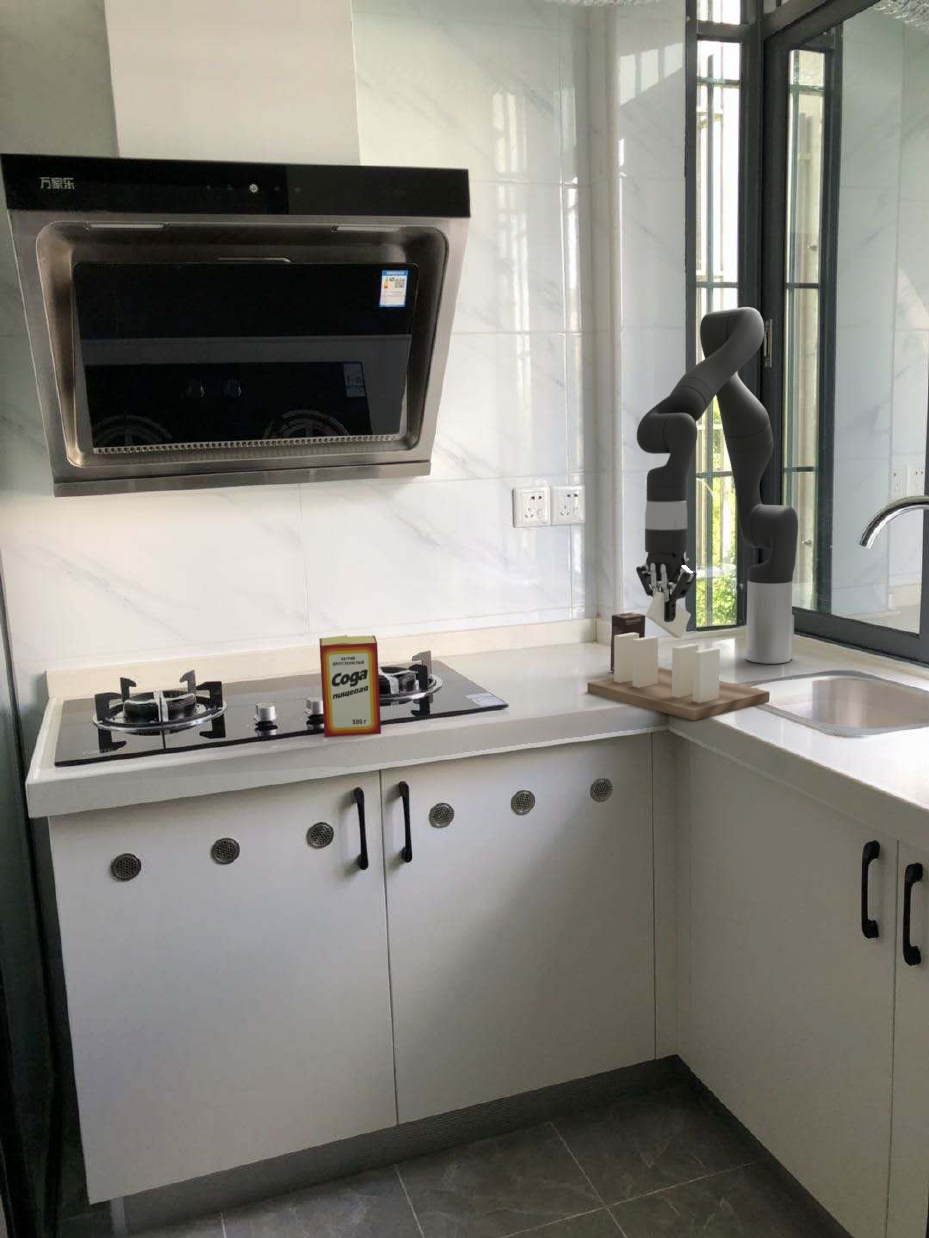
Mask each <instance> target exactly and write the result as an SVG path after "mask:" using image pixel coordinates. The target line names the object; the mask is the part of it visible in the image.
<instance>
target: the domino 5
mask: <svg viewBox="0 0 929 1238" xmlns="http://www.w3.org/2000/svg"><path fill="white" fill-rule="evenodd" d="M720 664H721V649H720V648H717V647H709V648H705V649H700V650H699V649H698V651H694V658H693V701H694V702H698V703H702V702H706V701H710V700H715V699H719V680H720V671H721V670H720V668H721V667H720Z"/></svg>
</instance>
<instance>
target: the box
mask: <svg viewBox="0 0 929 1238" xmlns="http://www.w3.org/2000/svg"><path fill="white" fill-rule="evenodd" d="M646 618H647V617H646V614H642V613H637V612H633V611H632V612H626V613H623V612H622V613H618V614H613V615H611V632H610V633H611V634H610V636H611V638H610V672H612V673H614V636H615V635H621V634H627V633H632V632H634V633H639V638H643V637H646V636H645V635H646Z"/></svg>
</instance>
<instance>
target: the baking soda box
mask: <svg viewBox="0 0 929 1238" xmlns="http://www.w3.org/2000/svg"><path fill="white" fill-rule="evenodd" d="M318 640H319V660H320V675H321V677H320V678H321V679H320V680H321V699H322V715H323V716H322V717H323V733H324V734H323V736H324V738H329V737H330V738H334V737H348V736H362V735H377V734H382V725H381V702H380V701H381V700H380V681H379V680H380V675H379V674H380V673H379V657H378V656H379V655H378V651H379V650H378V642H377V638H376V635H360V636H359V635H355V636H354V635H353V636H348V635H339V636H338V635H337V636H330V637H320V638H319V639H318Z"/></svg>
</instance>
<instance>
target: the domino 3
mask: <svg viewBox="0 0 929 1238" xmlns="http://www.w3.org/2000/svg"><path fill="white" fill-rule="evenodd" d="M664 602H665V601H664V593H662V592H656V594H655V596H654V598H653V597H652V600H651V603H650V605H649V607H648V608H647V612H646V614H645V616H646V617H645V618H648V620H650V621H651V622H653V623H654V624H655V625H657V626H658V627H660V628H661V629H662V630H664V631H665V632H666V633H668V634H669V635H670V636H672V638H675V639H676V638H677V639H682V637H683V634H684V632H685V630H686V628H687V625H688V622H689V620H690V618H691V615H692V614H691V613H690V612H689V611H687V610H686V609H685V608H684V607H682V606H681V605H680V604H678V603H677V602H676V617H675V618H674V621H671V622H665V621H664Z"/></svg>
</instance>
